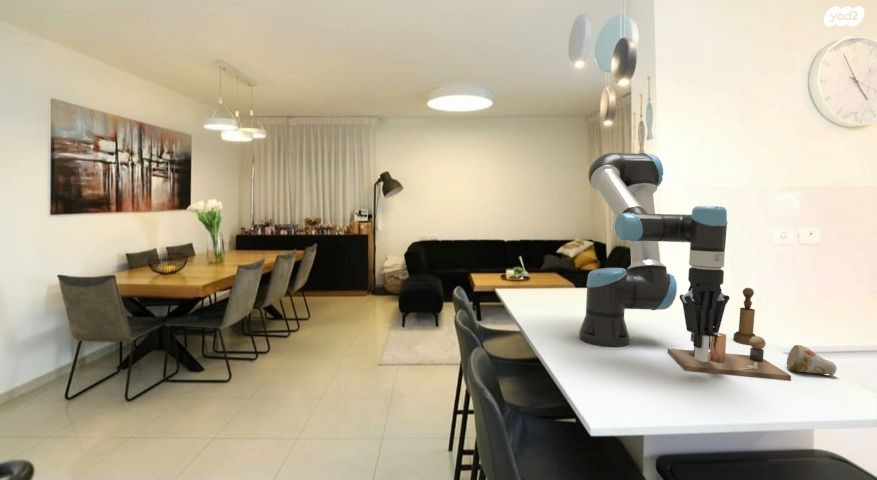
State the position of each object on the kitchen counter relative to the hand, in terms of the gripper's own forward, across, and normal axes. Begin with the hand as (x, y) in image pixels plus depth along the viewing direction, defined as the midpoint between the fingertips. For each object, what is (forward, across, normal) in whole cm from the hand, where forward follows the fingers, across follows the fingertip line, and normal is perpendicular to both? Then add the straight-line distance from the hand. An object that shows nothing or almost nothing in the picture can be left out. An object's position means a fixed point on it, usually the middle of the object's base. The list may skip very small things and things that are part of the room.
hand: (701, 360), depth 110 cm
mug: (+4, +32, -2) cm, 32 cm away
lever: (+1, +8, +6) cm, 10 cm away
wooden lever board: (+4, +13, +6) cm, 15 cm away
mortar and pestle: (+4, +41, +25) cm, 48 cm away
